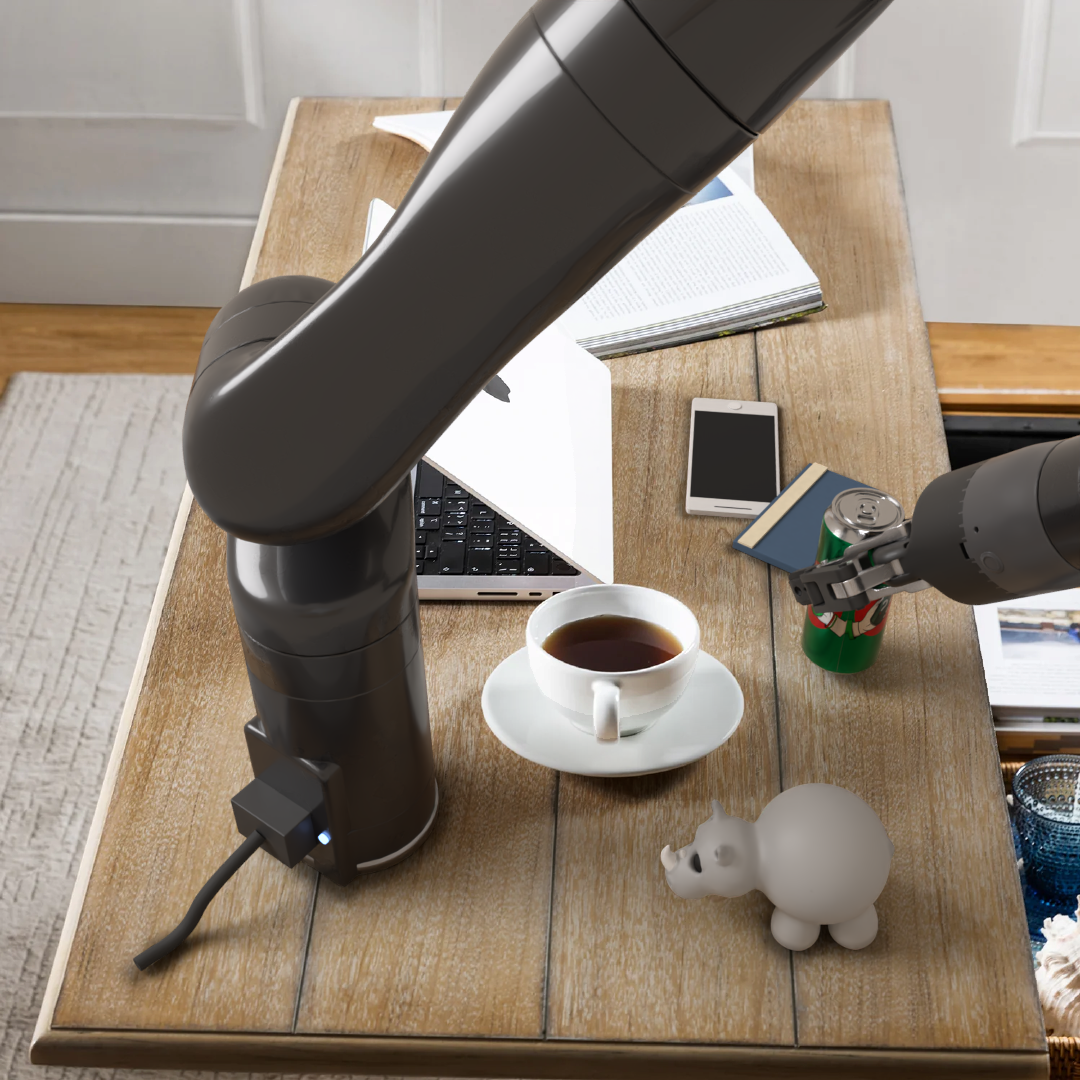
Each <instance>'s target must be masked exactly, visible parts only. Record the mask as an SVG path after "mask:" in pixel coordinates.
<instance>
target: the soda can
mask: <svg viewBox="0 0 1080 1080" xmlns="http://www.w3.org/2000/svg"><path fill="white" fill-rule="evenodd" d="M876 489H877V488H876ZM876 489H871V488H852V489H848V490H845V491H842V492H840V493H839V494H837V495H836V496H835V498H834V499H833V501H832V504H831V505H830V506H829V507H828V508H827V509H826V510H825V512H824V515H823V519H822V524H821V530H820V536H819V541H818V547H817V553H816V558H815V564H814V565H817V564H821V561H823V560H826V559H829V560H832V559H835V558H838V557H841V556H844V551H845V549H846V548H848V547H849V546H851V545H853V544H855V543H856V542H859V541H862V540H865V539H868V538H870V537H873V536H876V535H879V534H882V533H883V532H884V531H885V530H887V529H888V528H890V527H892V526H894V525H895V524H898V523H901V522H904V521H905V519H906V518H905V517H906V512H905V508H904V507H903V506H904V505H902V503H901V501H899V500H898V499H897V498H896V497H894V496H893V495H891V494H889V493H887V492H885V491H883V490H880V489H878V490H876ZM875 548H876V547H875ZM873 551H874V548H872V549H869V550H868V556H869V558H870V561H871V563H872V565H873V566H875V565H874V562H873V560H872V553H873ZM883 584H885V583H884V582H883ZM893 597H894V594H893V595H890V596H887V597H883V598H880V599H877V600H873V601H870V604H868V605H866V606H865V608H864V609H861V610H858V611H857V610H852V611H841V612H829V613H823V614H822V613H817V614H816V613H815V611H814V609H813V607H812V606H813V605H812V604H810V605H806V609H805V615H804V616H805V617H804V620H803V627H802V632H801V638H800V645H801V649H802V652H803V653H804V655H805V657H807V658H808V660H809V661H810V662H811V663H812V664H813V665H815V666H816V667H817V668H819V669H821V670H822V671H824V672H827V673H830V674H833V675H839V676H848V675H856V674H859V673H862V672H864V671H866V670H868V669H870V668H872V666H874V665H875V664H876V662H877V661H878V659H879V656H880V652H881V648H882V645H883V644H882V643H883V640H884V635H885V631H886V627H887V623H888V618H889V613H890V610H891V605H892V601H893Z"/></svg>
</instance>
